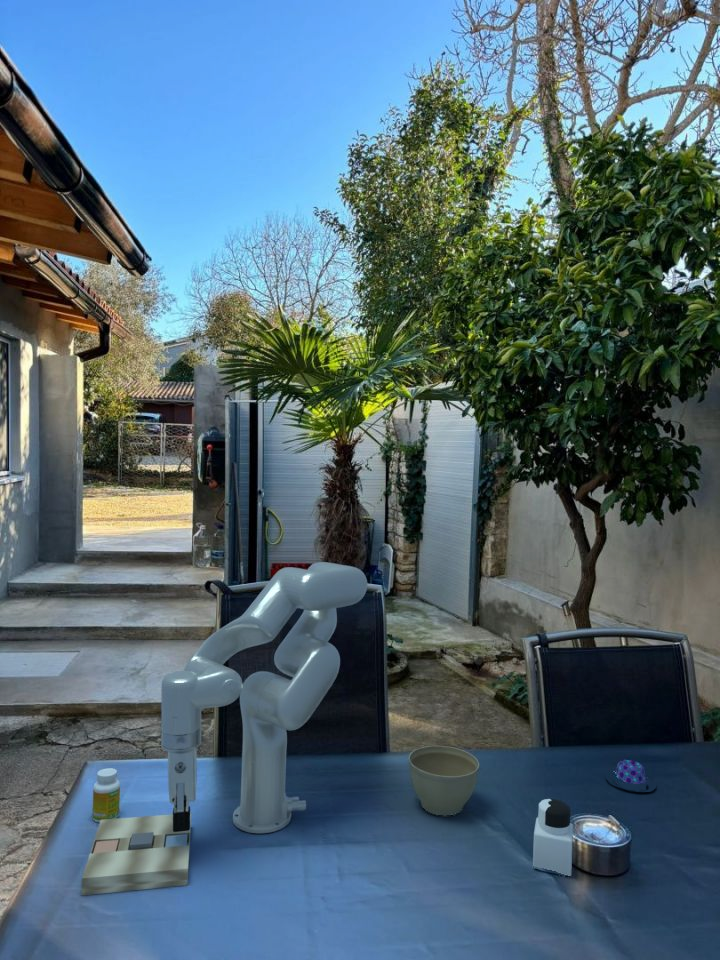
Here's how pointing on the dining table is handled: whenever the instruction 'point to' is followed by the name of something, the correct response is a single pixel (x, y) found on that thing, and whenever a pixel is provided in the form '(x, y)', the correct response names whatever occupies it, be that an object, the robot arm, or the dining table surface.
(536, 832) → the medicine bottle
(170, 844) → the key blue
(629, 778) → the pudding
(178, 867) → the keypad
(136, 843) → the key charcoal
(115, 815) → the supplement bottle
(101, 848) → the key pink
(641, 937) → the dining table surface
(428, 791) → the planter bowl
